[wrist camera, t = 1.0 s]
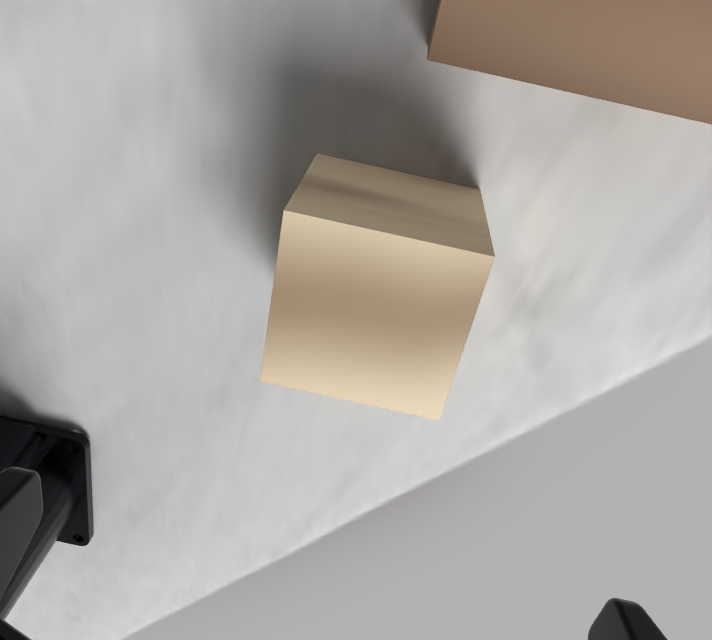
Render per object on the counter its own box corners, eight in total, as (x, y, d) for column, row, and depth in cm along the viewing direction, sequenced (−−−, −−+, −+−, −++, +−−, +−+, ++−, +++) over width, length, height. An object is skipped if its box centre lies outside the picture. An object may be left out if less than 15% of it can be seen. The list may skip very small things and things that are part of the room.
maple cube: (437, 327, 21) (439, 420, 17) (294, 295, 21) (259, 381, 17) (480, 188, 19) (494, 256, 14) (317, 152, 19) (283, 210, 14)
